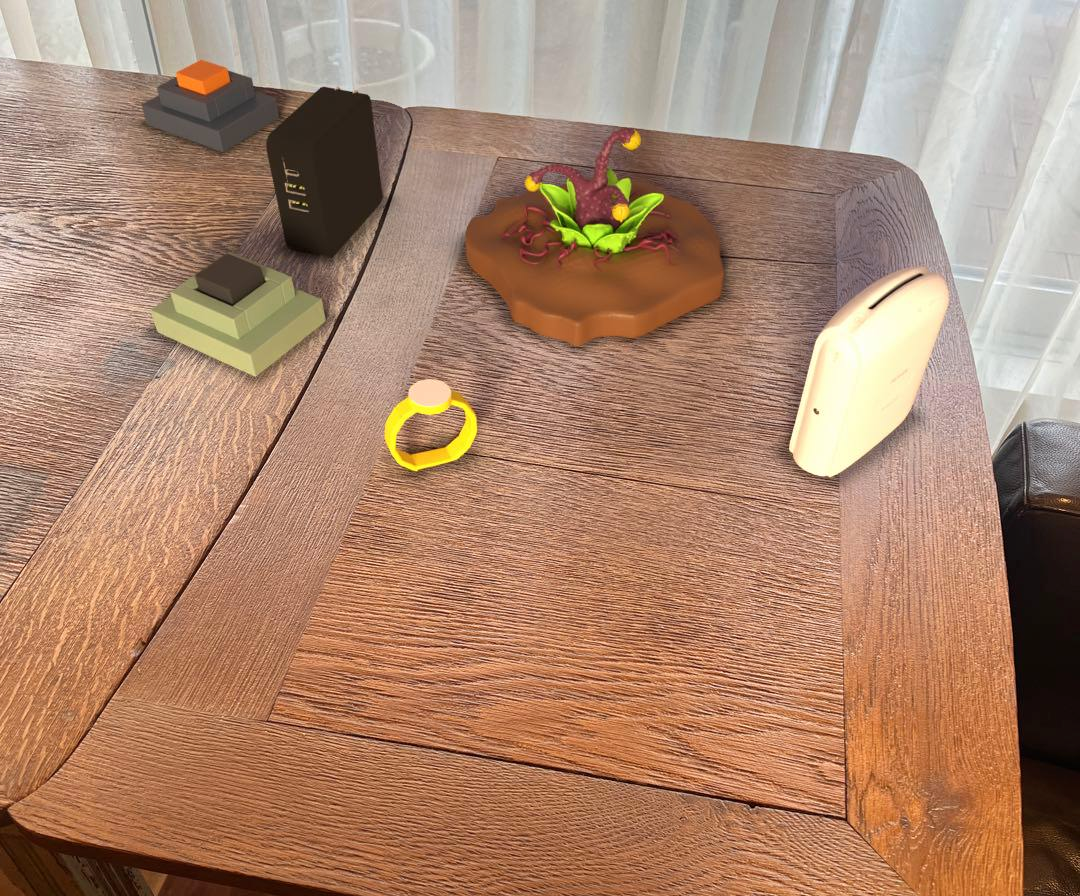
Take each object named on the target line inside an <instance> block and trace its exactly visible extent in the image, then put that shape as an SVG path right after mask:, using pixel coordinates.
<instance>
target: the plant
mask: <svg viewBox="0 0 1080 896" xmlns="http://www.w3.org/2000/svg"><path fill="white" fill-rule="evenodd" d="M616 141H620V142H621V145H622V146H623V148H625V149H627V150H628V151H634V150H636V149H638V148H639V146H641V143H642V137H641V134H640V132H638V131H637V130H636V129H634V128H631V127H629V128H627V127H625V128H620V129H618V130H617V131H616V130H615V131H612V132H611V135H610V136H609V137H608V138H607V140H605V141H604V142H603V145H602V146H603V147H602V149H601V150H600V151H599V153H598V157H597V158H596V160H595V167H594V172H593V177H584V176H583V175H581V173H580V172H578V169H574V168H573V166H568V165H566V164H559V163H556V164H554V163H551V164H549V165H545V166H544V167H541V168H539V170H535V171H533V172H531V173H529V174H528V175H527V176H526V178H525V180H524V186H525V189H526V191H525V192H524V193H523V194H520V195H515V196H508V197H507V196H506V197H501V198H499V199H497V201H496V202H495V206H494V209H493V211H492V212H490V213H488V214H486V215H480V216H474V217H472V218H470V221H469V222H468V225H467V226H466V229H465V234H464V241H465V242H464V243H465V256H466V261H467V264H468V265H469V267H470V268H471V269H472V271H474V272H475V273H476V274H477V275H478V276H480V277H481V278H482V279H484V281H486V282H488V283H489V284H490V285H491V286H492V287H493V289H495V291H496V292H497V293H498V295H499V296H500V297H501V298H502V300H503V301H504V303H505V304H506V306H507V307H508V308H509V312H510V317H511V319H512V320H513V321H514V322H515V323H516V324H519V325H522V326H525V327H527V328H528V329H529V330H531V331H533V332H535V333H537V334H539V335H541V336H543V337H547V338H553V339H558V340H561V341H563V342H565V343H568V344H570V345H572V346H575V347H579V346H582V345H584V344H585V343H587V342H589V341H591V340H594V339H597V338H601V337H623V338H629V339H634V338H639V337H641V336H645V335H647V334H649V333H651V332H653V331H654V330H656V329H658V328H660V327H662V326H665V325H666V324H669V323H670V322H672V321H674V320H676V319H678V318H679V317H681V316H683V315H686V314H687V313H689V312H691V311H692V312H693V311H695V310H696V309H699V308H701V307H704V306H705V305H708V304H709V303H712V302H714V301H715V300H717V299H719V298H720V297H721V295H722V291H723V285H724V280H725V279H724V278H725V269H724V267H723V262H722V258H721V249H722V242H721V239H720V236H719V234H718V231H717V230H716V229H715V227H714V226H713V224H711V223H710V222H709V220H708V219H706V217H705V216H704V215H703V214H702V213H701V212H700V211H699V210H698V208H697V207H696V206H695V205H694V204H692V203H691V202H688V201H685V200H682V199H678V198H676V197H673V196H672V195H669V194H668V193H667V192H665V191H664V190H663V189H661V188H660V187H658V186H656V185H655V184H653V183H651V182H649V181H648V180H647V179H645V178H629V177H625V178H623V177H621V178H620V177H617V174H616V173H615V171H614V170H613V169H612V168H610V167H609V166H608V165H609V163H610V159H609V158H610V155H611V152H612V149H613V146H614V144H615V143H616ZM552 172H553V173H560V174H561V175H565V177H567V180H566V183H564V184H561V185H559V186H558V185H555V184H550V183H543V177H544V175H545V174H547V173H548V174H551V173H552Z"/></svg>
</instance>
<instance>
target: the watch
mask: <svg viewBox="0 0 1080 896" xmlns="http://www.w3.org/2000/svg"><path fill="white" fill-rule="evenodd" d="M451 406H455V407H457V408H461V409H463V411H464V413H465V414H464V415H465V416H464V417H465V422H464V424H463V427H462V428H461V430H460V432H459V435H458V436H457V437H456V438H454V439H453V440H452V441H451V442H450V443H449V444H448V445H446V446H445V447H439V448H435V449H430V450H425V451H422V452H416V453H412V454H410V453H408V452H405V451H403V450H401V449H398V447H397V435H398V433H399V432H400V430H401V428H403V425H404V424H405V422H406V421H407V420H408V419H409V418H411V417H412V416H414V414H416V413H419V414H421V415H428V416H429V415H430V416H432V415H437V414H440V413H443V412H445V411H447V410H448V409H449V408H450V407H451ZM384 424H385V426H384V441H385V443H386V445H387V447H388V450H389V451H390V453H391V455H392V457H393V458H394V460H395V461H396V462H397V464H399V466H401V467H403V468H404V467H405V468H406V469H408V470H411V471H413V472H414V471H415V472H418V471H419V470H421V469H426V468H430V467H435V466H439V465H443V464H446V463H450V462H453V461H457V460H458V459H459V458H460V457H461V456H463V455H464V454H465V453H466V452H468V450H469V449H470V448H471V446H472V445H473V442H474V440H475V438H476V437H477V434H478V433H477V432H478V418H477V415H476V413H475V411H474V409H473V408H472V406H471V405H470V403H469V402H468V400H467V399H466V397H464V396H463V394H462V393H460V392H459V391H456V390H453V389H452V388H451V387H450V386H449V385H448V384H447V383H446V382H444V381H442V380H439V379H434V378H433V379H432V378H428V379H426V378H425V379H422V380H419V381H416V382H415V383H413V384H412V385H411V386H410V387H409V389H408V392H407V396H406V398H405V399H403V400H402V401H400V402H398V403H397V404H396V406H395V407H394V408H393V410H392V411H391V413H390V414H389V416H388V418H387V419H386V422H385V423H384Z"/></svg>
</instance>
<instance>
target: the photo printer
mask: <svg viewBox="0 0 1080 896" xmlns="http://www.w3.org/2000/svg"><path fill="white" fill-rule="evenodd" d="M949 304H950V290H949V287H948V284H947V283H946V280H945V278H944V277H943V276H942V274H941V273H938V272H934V271H931V270H930V269H929V268H928V267H927V266H925V265H915V266H910V267H906V268H902V269H899V270H896V271H894V272H891V273H889V274H887V275H885V276H883V277H882V278H880V279H877V280H875V281H874V282H873V283H870V284H869V285H867V286H866V288H864V289H863V290H861V291H860V292H859V293H857V294H856V295H855V296H854V297H852V298H851V299H850V300H849V301H848V302H846V303H845V304H844V305H843V306H842V307H840V309H839V310H838V311H837V312H835V314H834V315H833V316H832V317H831V318H830V319H829V320H828V321H827V323H826V324H825V325H824V326H823V328H822V329H821V331H820V333H819V334H818V335H817V337H816V340H815V342H814V346H813V350H812V354H811V359H810V362H809V366H808V369H807V374H806V379H805V382H804V387H803V389H802V394H801V398H800V403H799V406H798V410H797V413H796V414H797V415H796V418H795V422H794V426H793V429H792V433H791V436H790V441H789V447H788V450H789V452H790V453H791V454H792V455H793V456H792V457H793V460H794V462H795V463H796V464H797V465H798V467H799V468H801V470H804V471H805V472H807V473H810V474H812V475H814V476H820V477H828V478H831V477H834V476H836V475H838V474H840V473H841V472H843V471H844V470H846V469H847V468H849V467H851V465H853V464H854V463H855V462H857V461H858V460H859V459H861V458H862V457H863V456H865V454H868V452H869V451H871V450H872V449H874V447H876V446H877V445H878V444H879V443H880V442H882V441H883V440H884V439H885V438H886V437H887V436H888V435H890V434H891V433H892V432H893V431H894V430H895V429H896V428H897V427H899V426H900V425H901V424H902V423H903V422H904V421H905V419H906V418H907V416H908V415H909V413H910V411H911V409H912V407H913V405H914V402H915V400H916V396H917V395H918V392H919V390H920V386H921V383H922V381H923V377H924V375H925V372H926V370H927V367H928V364H929V361H930V359H931V356H932V353H933V350H934V347H935V344H936V341H937V340H938V336H939V334H940V331H941V328H942V325H943V322H944V319H945V317H946V314H947V311H948V309H949Z"/></svg>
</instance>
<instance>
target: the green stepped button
mask: <svg viewBox="0 0 1080 896" xmlns="http://www.w3.org/2000/svg"><path fill="white" fill-rule="evenodd" d="M227 253H228V254H230V255H233V256H235V257H238V258H240V259H242V260H245V261H247V262H250V263H252V264H255V265H257V266H260V267H261V270H262V274H263V279H264V284H263V285H261V286H260V287H258V288H257V289H256V290H254V291H253V292H252V293H250V294H249V295H247V296H246V297H245V298H243V299H242V300H241V301H239V302H238V303H236V304H235V305H234V306H230V305H228V304H226V303H224V302H221V301H219V300H217V299H214V298H212V297H210V296H207V295H205V294H203V293H200V292H199V289H198V285H197V282H196V278H195V275H196V274H197V273H199V272H200V271H198V272H197V273H196V274H194V275H192V276H191V277H189V278H188V279H186V280H185V281H183V282H182V283H181V284H180V285H178V286H177V287H175V288H174V289H172V290H171V291H170V292H169V294H170V296H169V297H167V298H166V299H164V300H162V301H161V302H160V303H158V304H157V305H155V306H154V307H152V308H151V309H150V310H149V311H150V315H151V317H152V320H153V323H154V326H155V329H156V332H157V333H158V334H161V335H162V336H165V337H167V338H169V339H172V340H174V341H176V342H178V343H181V344H183V345H184V346H187V347H189V348H191V349H194V350H195V351H198V352H200V353H202V354H204V355H207V356H209V357H210V358H213V359H216V360H217V361H220V362H222V363H224V364H226V365H228V366H231V367H233V368H235V369H237V370H239V371H242V372H244V373H246V374H248V375H250V376H252V377H255V378H256V377H257V376H259V375H260V374H261V373H263V372H264V371H265V370H267V368H269V367H270V366H271V365H273V364H274V363H275V362H276V361H277V360H279V359H280V358H282V357H283V356H284V355H285V354H286V353H287V352H289V351H290V350H291V349H293V348H294V347H295V346H297V345H298V344H299V343H300V342H302V341H303V340H305V338H306V337H308V336H309V335H310V334H312V333H313V332H314V331H315V330H317V329H318V328H319V327H320V326H322V325H323V324H324V323H325V322H326V321H327V320H326V314H325V309H324V302H323V298H320V297H318V296H316V295H313V294H310V293H308V292H306V291H304V290H301V289H298V288H296V287H295V286H294V281H293V277H292V276H291V275H288V274H286V273H284V272H281V271H278V270H276V269H273V268H272V267H268V266H267V265H265V264H261V263H258V262H256V261H254V260H252V259H250V258H247V257H244V256H242V255H239V254H236V253H234V252H232V251H228V252H227ZM218 259H219V258H217V259H216V260H218ZM216 260H215V261H216ZM215 261H213V262H215Z"/></svg>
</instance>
